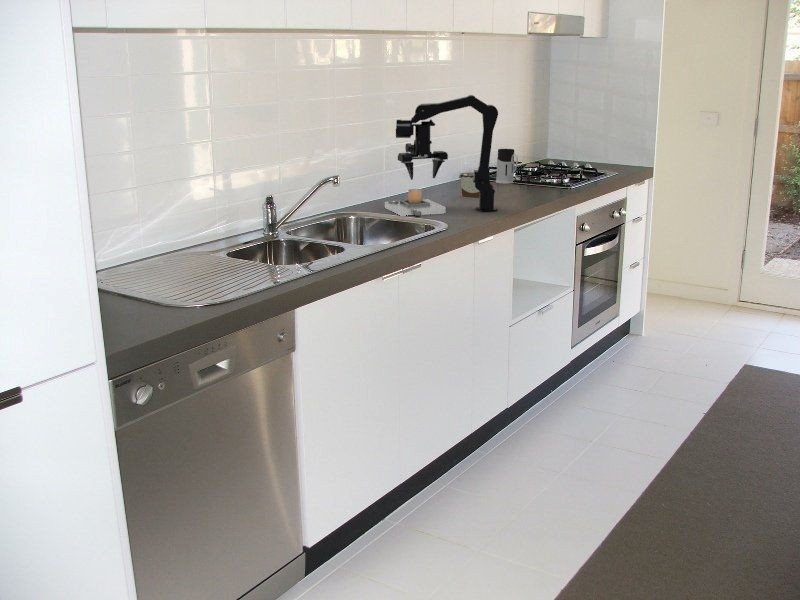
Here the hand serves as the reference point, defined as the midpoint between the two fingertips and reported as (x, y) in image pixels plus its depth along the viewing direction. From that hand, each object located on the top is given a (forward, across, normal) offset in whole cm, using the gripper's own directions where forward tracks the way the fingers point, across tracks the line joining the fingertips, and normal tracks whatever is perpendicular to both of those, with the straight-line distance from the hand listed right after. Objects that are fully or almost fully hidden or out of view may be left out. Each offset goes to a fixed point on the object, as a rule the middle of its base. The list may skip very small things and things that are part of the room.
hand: (422, 178), depth 339 cm
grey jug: (+12, -63, -48) cm, 80 cm away
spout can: (+12, +4, +2) cm, 13 cm away
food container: (+12, -31, -18) cm, 38 cm away
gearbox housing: (+12, +4, +4) cm, 13 cm away
